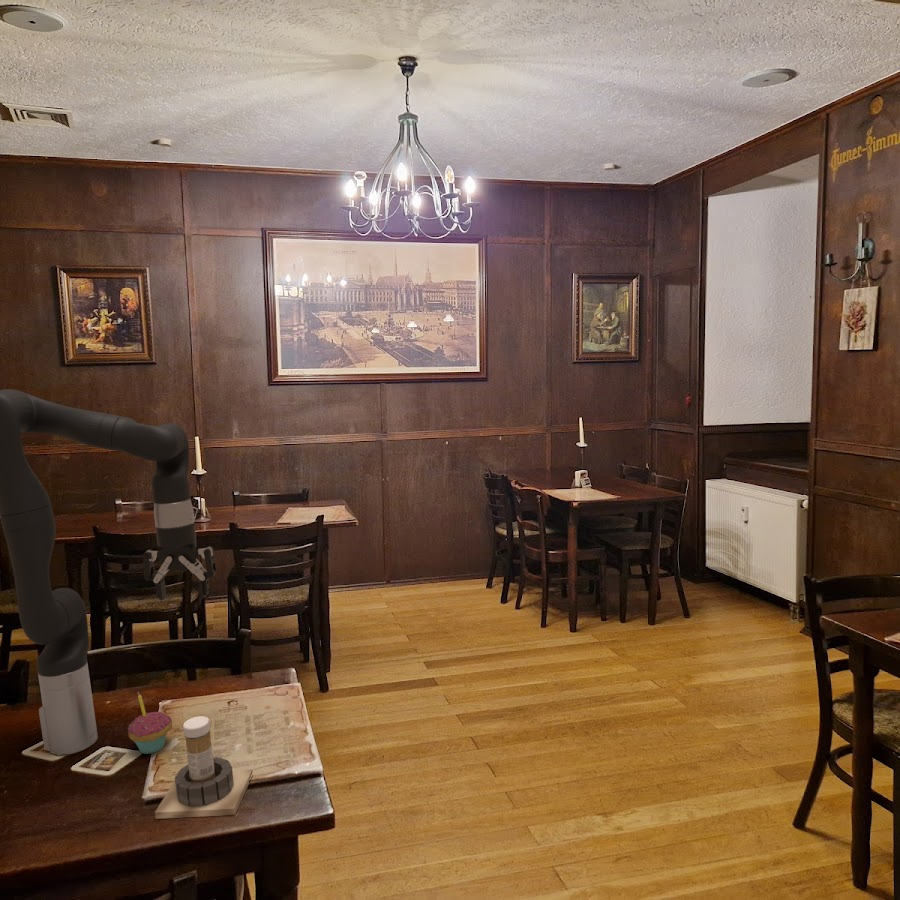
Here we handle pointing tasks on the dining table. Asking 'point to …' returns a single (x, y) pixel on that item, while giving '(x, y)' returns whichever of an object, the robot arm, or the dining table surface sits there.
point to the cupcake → (149, 730)
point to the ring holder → (205, 793)
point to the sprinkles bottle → (199, 749)
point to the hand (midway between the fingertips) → (183, 597)
